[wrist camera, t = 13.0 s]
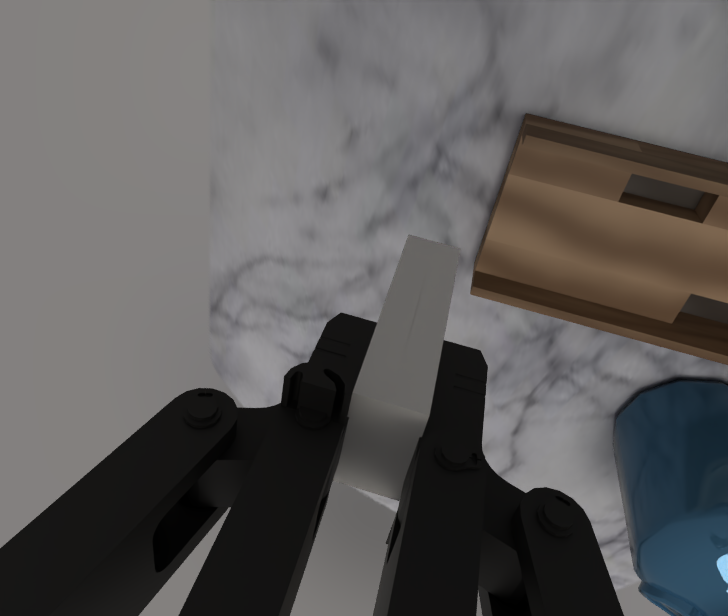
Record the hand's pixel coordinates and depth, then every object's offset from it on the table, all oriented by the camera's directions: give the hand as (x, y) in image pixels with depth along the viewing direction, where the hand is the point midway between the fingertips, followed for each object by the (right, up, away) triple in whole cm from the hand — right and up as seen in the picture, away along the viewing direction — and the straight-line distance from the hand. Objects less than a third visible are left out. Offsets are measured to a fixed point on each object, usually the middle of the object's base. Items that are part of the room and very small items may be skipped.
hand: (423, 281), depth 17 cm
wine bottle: (+29, -12, +37) cm, 48 cm away
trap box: (+23, +4, +27) cm, 36 cm away
